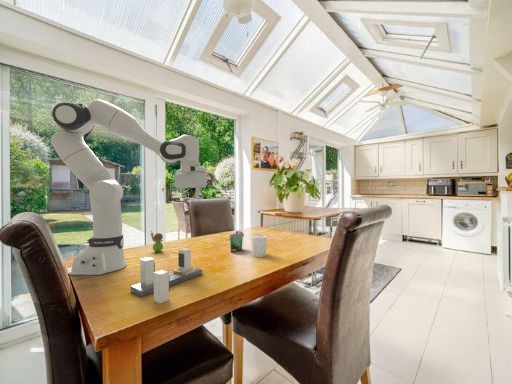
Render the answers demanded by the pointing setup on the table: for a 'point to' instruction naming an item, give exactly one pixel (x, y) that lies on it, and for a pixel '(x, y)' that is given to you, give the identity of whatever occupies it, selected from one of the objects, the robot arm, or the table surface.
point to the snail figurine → (157, 242)
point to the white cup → (259, 245)
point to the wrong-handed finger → (161, 286)
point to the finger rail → (171, 282)
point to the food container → (236, 241)
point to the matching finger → (184, 259)
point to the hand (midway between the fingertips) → (190, 197)
